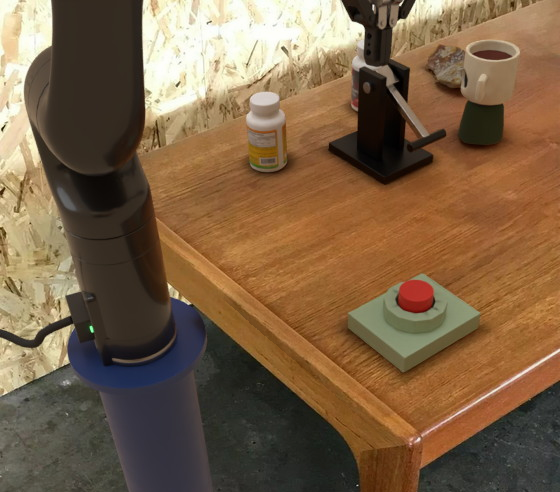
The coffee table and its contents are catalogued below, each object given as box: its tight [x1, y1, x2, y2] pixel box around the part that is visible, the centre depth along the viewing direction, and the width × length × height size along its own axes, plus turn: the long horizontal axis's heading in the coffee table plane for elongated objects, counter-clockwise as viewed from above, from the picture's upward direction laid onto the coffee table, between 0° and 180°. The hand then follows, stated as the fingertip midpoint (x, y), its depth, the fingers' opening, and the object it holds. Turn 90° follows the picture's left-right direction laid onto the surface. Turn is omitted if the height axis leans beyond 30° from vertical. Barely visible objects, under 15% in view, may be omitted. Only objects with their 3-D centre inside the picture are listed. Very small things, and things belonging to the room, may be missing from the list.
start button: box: [398, 279, 434, 313], centre depth 84 cm, size 4×4×2 cm
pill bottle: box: [350, 38, 382, 113], centre depth 119 cm, size 5×5×10 cm
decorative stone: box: [425, 43, 466, 89], centre depth 127 cm, size 10×4×15 cm
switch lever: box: [375, 65, 447, 153], centre depth 104 cm, size 12×6×2 cm, turn 36°
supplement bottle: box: [245, 91, 288, 173], centre depth 109 cm, size 5×5×10 cm
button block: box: [347, 272, 482, 373], centre depth 85 cm, size 11×9×4 cm
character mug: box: [457, 39, 521, 146], centre depth 110 cm, size 11×7×13 cm, turn 156°
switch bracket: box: [328, 58, 434, 185], centre depth 108 cm, size 12×9×13 cm
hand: (376, 64), depth 86 cm, fingers closed
